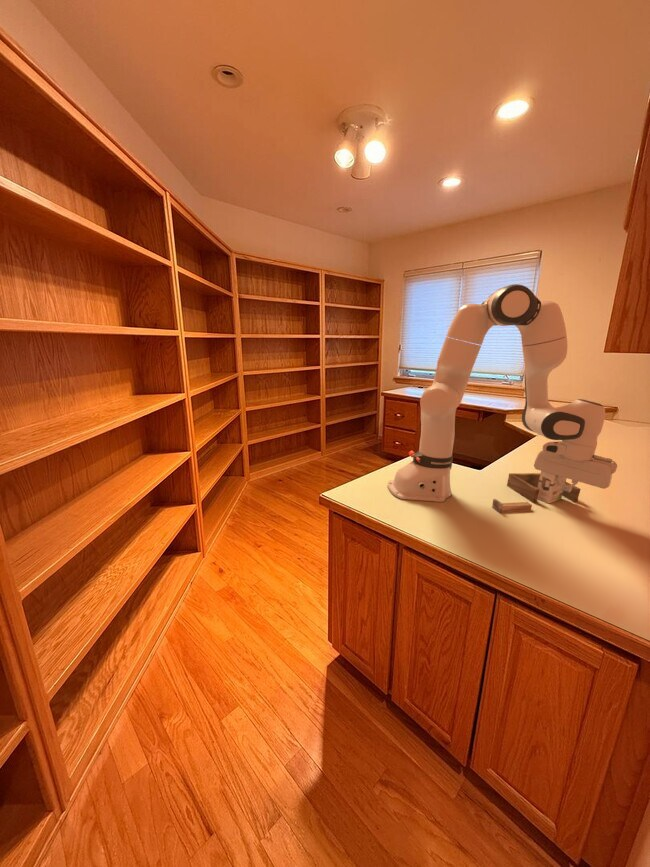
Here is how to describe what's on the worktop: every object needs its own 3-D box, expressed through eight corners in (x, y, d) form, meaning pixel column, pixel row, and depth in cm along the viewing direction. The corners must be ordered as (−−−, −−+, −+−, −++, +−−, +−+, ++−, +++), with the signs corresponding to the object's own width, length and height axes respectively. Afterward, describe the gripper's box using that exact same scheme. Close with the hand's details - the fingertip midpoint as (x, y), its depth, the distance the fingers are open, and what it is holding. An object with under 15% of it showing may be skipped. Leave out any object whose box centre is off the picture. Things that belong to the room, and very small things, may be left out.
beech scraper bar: (532, 511, 105) (534, 502, 104) (499, 513, 103) (500, 504, 102) (524, 506, 109) (526, 497, 108) (491, 508, 107) (493, 499, 106)
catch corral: (533, 502, 111) (536, 489, 110) (506, 485, 125) (509, 473, 123) (577, 502, 113) (580, 488, 111) (546, 485, 126) (549, 473, 125)
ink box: (547, 493, 119) (554, 463, 116) (562, 498, 115) (569, 467, 112) (534, 498, 115) (541, 466, 112) (549, 504, 111) (557, 471, 107)
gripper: (620, 458, 98) (607, 500, 102) (543, 441, 112) (534, 477, 116) (617, 462, 94) (603, 505, 98) (537, 443, 108) (528, 482, 112)
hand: (565, 490), depth 107 cm, fingers closed
